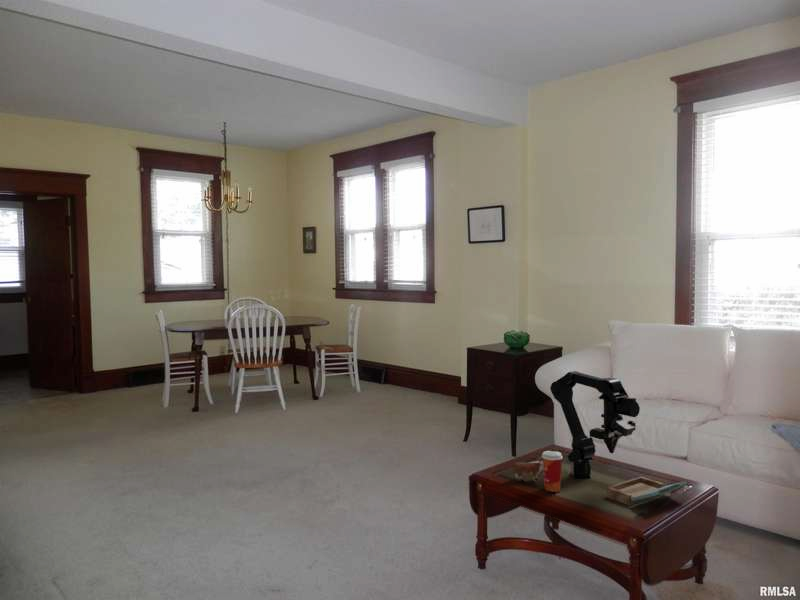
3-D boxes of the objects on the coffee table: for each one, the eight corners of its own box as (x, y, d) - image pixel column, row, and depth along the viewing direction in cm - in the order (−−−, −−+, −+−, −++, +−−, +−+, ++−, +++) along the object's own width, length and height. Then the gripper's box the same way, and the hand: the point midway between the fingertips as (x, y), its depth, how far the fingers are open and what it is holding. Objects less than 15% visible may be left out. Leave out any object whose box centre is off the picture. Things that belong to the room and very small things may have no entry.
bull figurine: (547, 483, 236) (547, 462, 236) (512, 481, 239) (512, 460, 239) (547, 479, 241) (547, 459, 240) (512, 477, 243) (512, 457, 243)
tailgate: (630, 498, 212) (651, 493, 206) (665, 486, 223) (685, 481, 216) (632, 502, 212) (652, 497, 205) (666, 489, 223) (687, 485, 216)
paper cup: (543, 485, 234) (543, 449, 233) (564, 487, 231) (563, 451, 230) (540, 492, 227) (539, 455, 226) (561, 495, 224) (561, 457, 223)
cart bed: (606, 496, 221) (606, 487, 221) (640, 485, 232) (640, 476, 232) (629, 505, 213) (629, 495, 213) (663, 492, 224) (663, 483, 224)
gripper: (613, 420, 218) (613, 463, 219) (645, 412, 228) (645, 453, 229) (588, 414, 227) (588, 455, 228) (620, 407, 237) (620, 446, 238)
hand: (611, 452), depth 231 cm, fingers closed
